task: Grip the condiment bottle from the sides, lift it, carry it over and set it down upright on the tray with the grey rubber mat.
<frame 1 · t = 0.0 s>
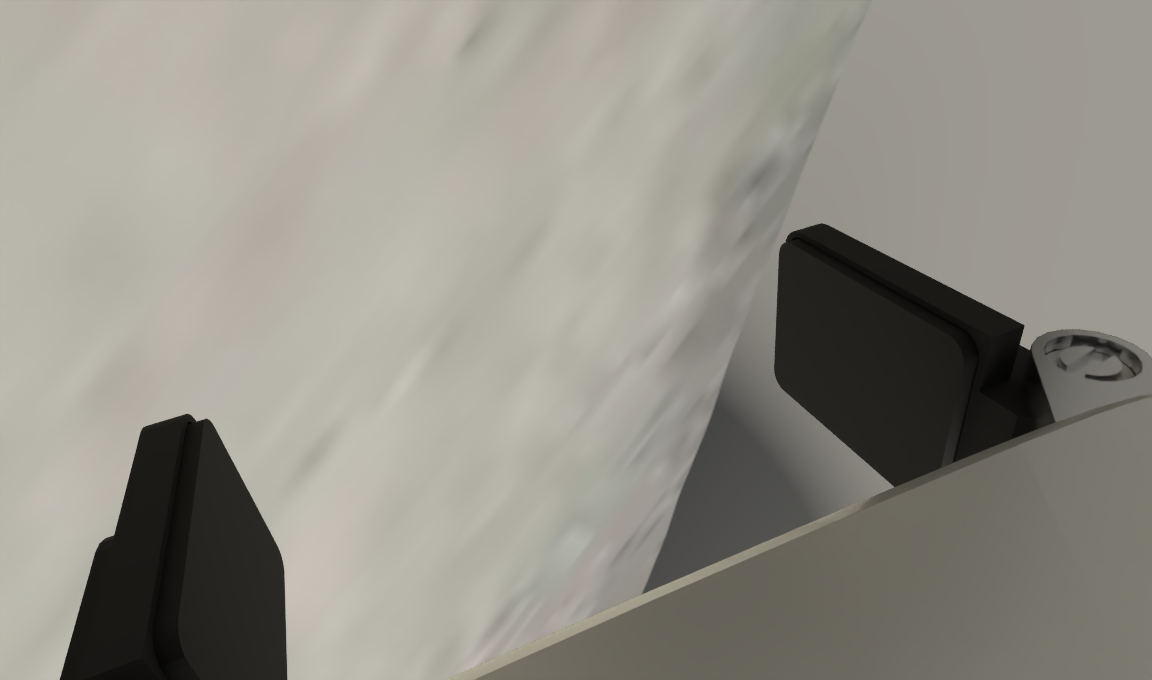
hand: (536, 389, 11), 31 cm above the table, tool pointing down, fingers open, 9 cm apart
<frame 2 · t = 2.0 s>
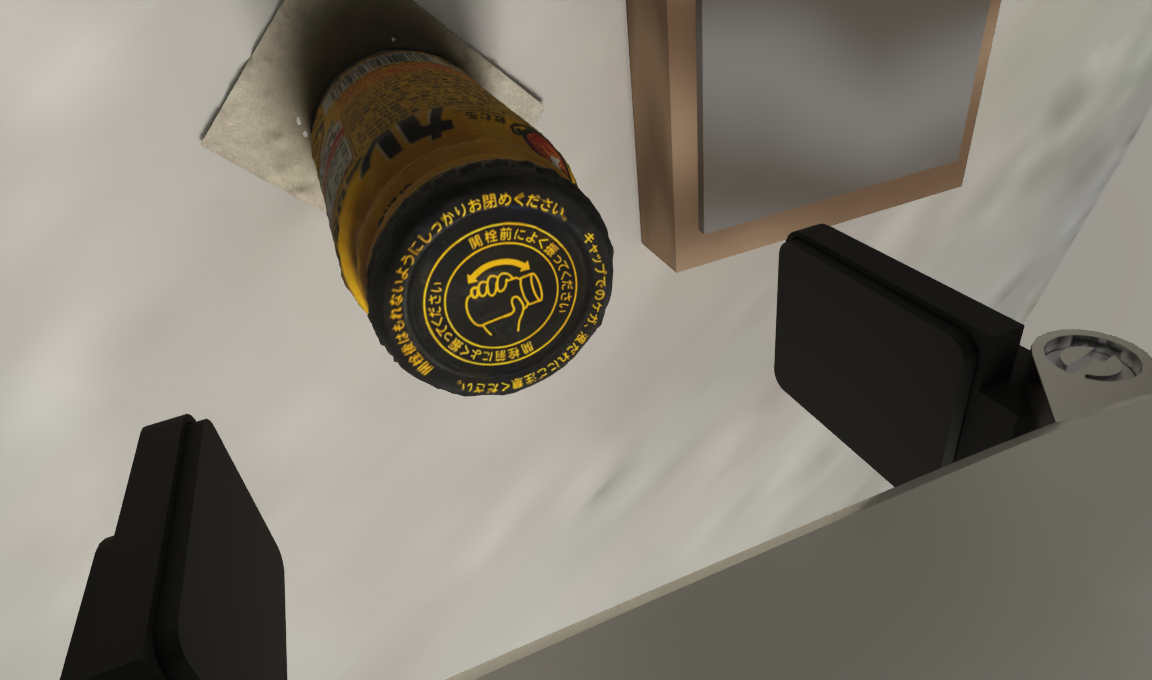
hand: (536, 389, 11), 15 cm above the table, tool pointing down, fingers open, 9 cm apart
condiment: (383, 121, 23), on the table
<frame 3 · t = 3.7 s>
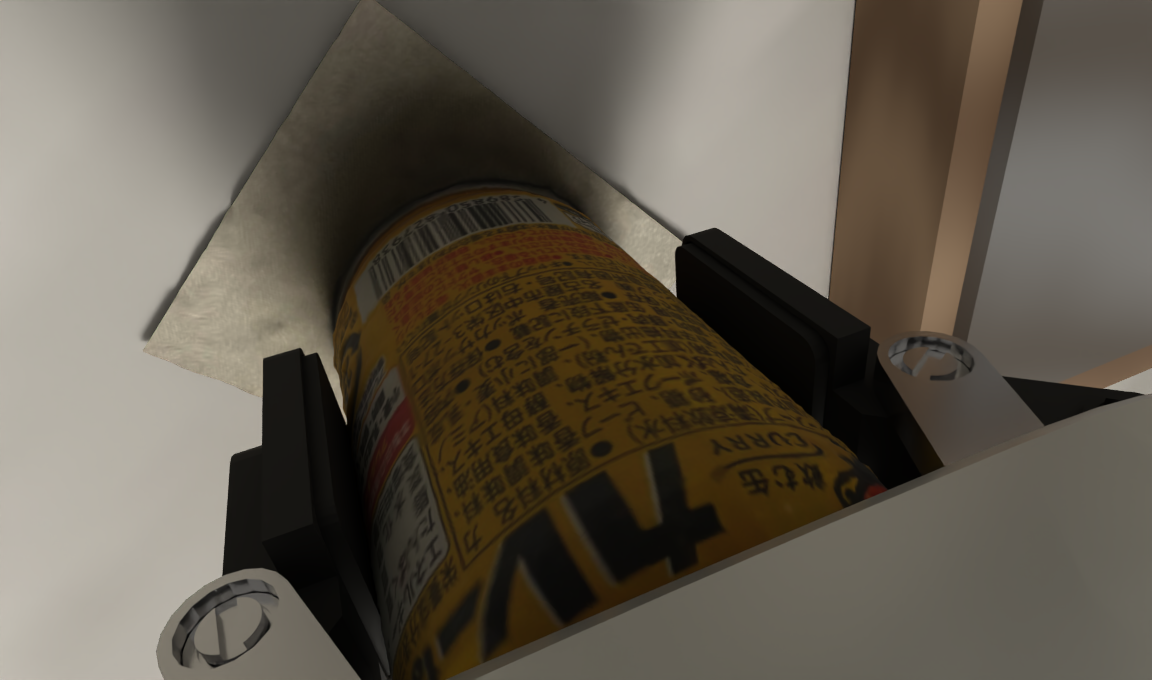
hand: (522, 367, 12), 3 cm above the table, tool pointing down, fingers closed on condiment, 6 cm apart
condiment: (448, 287, 14), on the table, touching gripper
tray: (1082, 37, 17), on the table
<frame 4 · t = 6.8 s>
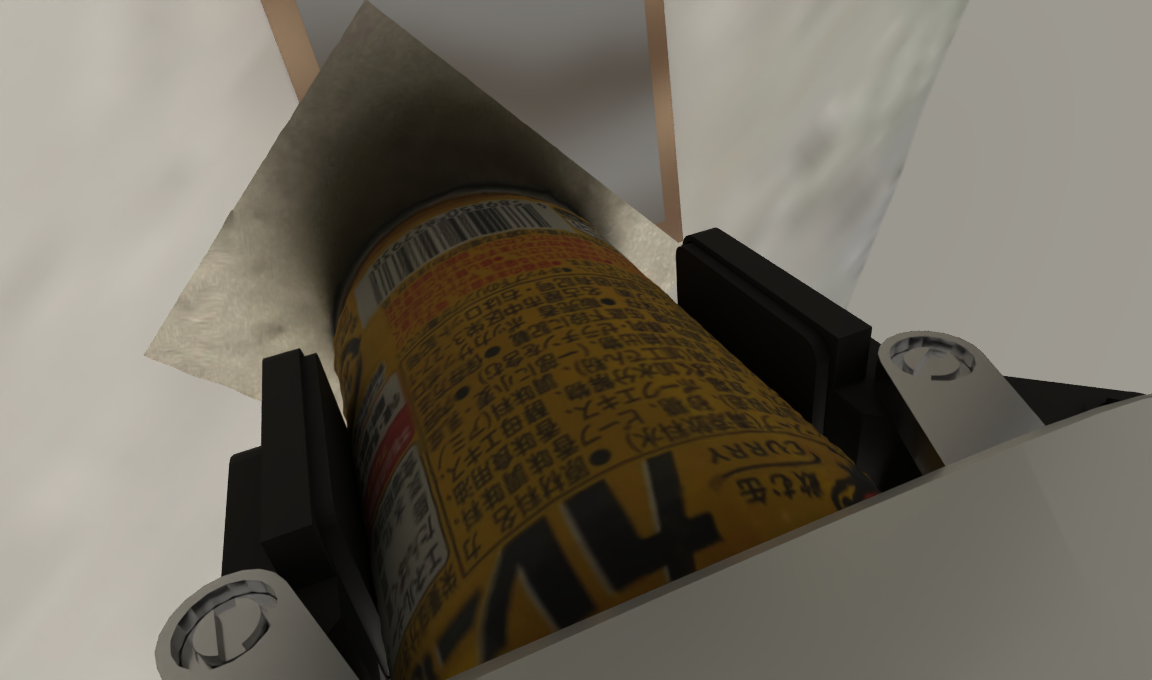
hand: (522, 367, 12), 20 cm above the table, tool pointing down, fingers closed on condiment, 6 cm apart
condiment: (448, 291, 14), point 16 cm above the table, touching gripper
tray: (478, 67, 28), on the table
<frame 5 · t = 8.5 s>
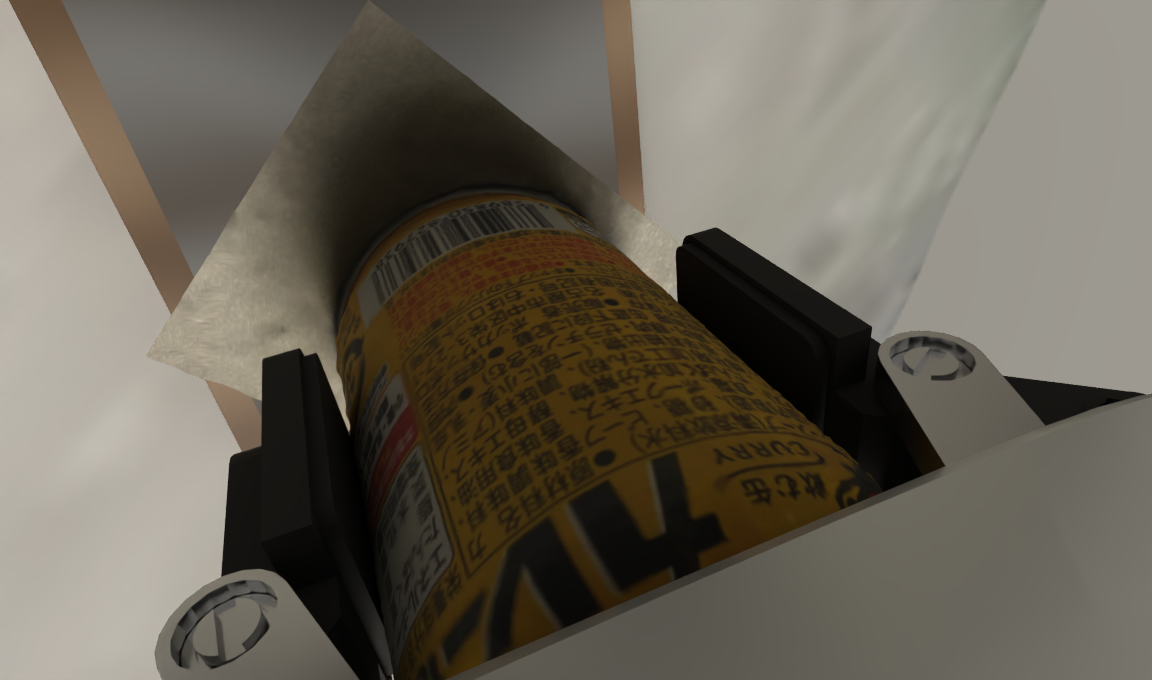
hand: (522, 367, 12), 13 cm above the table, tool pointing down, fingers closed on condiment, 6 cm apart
condiment: (451, 292, 14), point 9 cm above the table, touching gripper
tray: (396, 162, 22), on the table
when the fingers open (8 cm above the table, at t = 9.8 s): condiment drops 1 cm, resting on tray.
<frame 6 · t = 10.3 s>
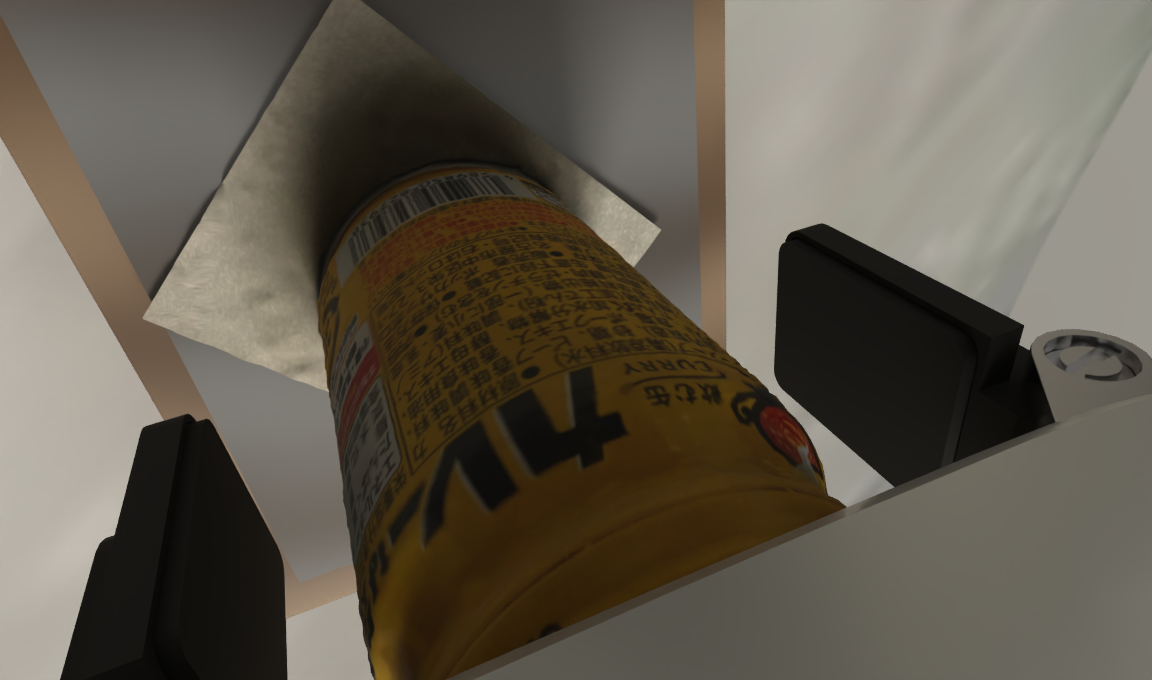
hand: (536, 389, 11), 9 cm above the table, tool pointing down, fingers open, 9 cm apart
condiment: (427, 262, 15), point 3 cm above the table, touching tray
tray: (431, 214, 18), on the table
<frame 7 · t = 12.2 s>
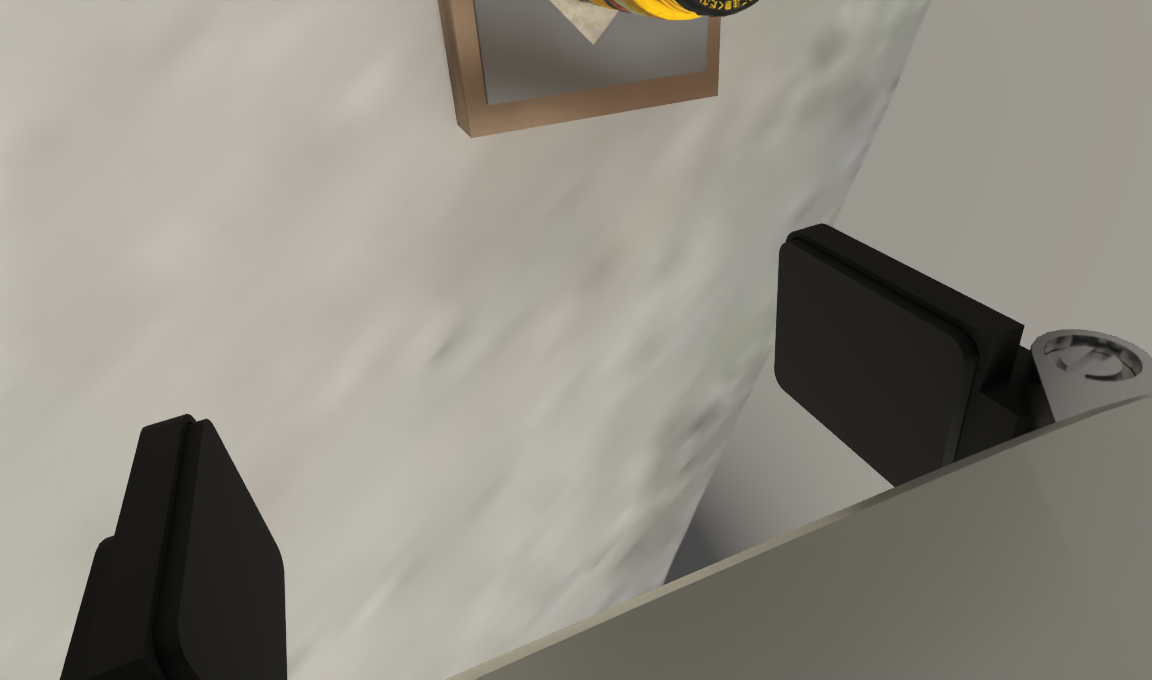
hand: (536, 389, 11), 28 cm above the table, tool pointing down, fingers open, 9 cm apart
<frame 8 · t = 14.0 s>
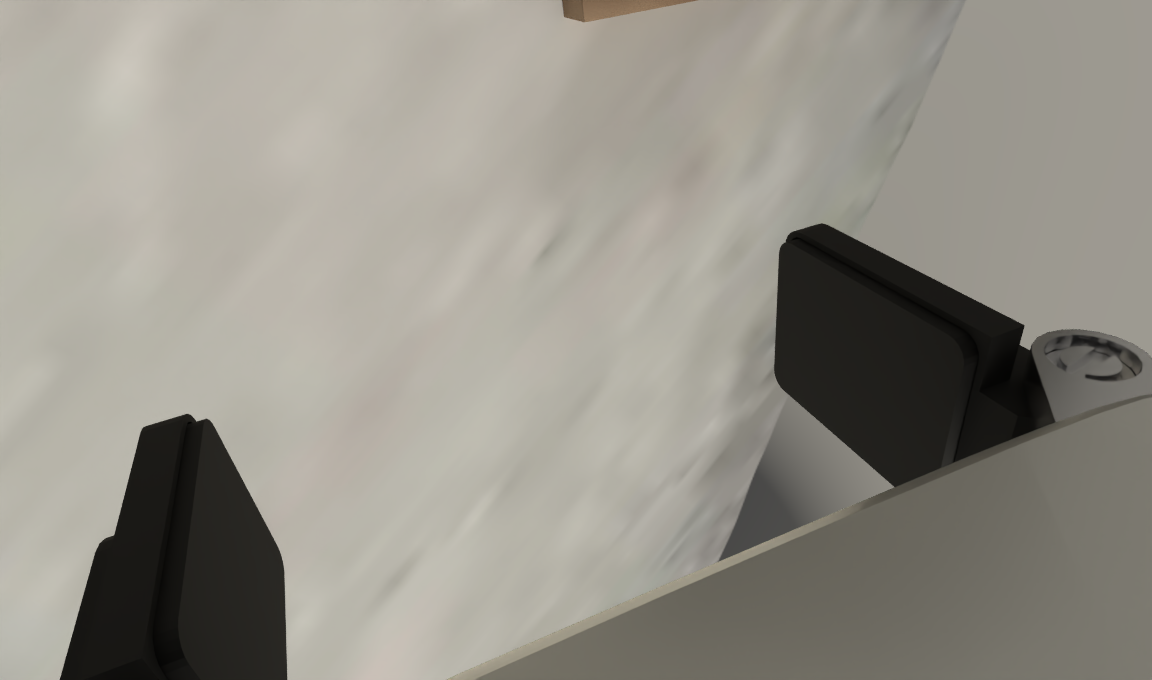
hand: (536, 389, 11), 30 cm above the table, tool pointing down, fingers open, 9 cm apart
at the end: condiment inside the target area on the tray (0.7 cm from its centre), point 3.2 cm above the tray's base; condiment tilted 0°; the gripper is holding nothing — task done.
